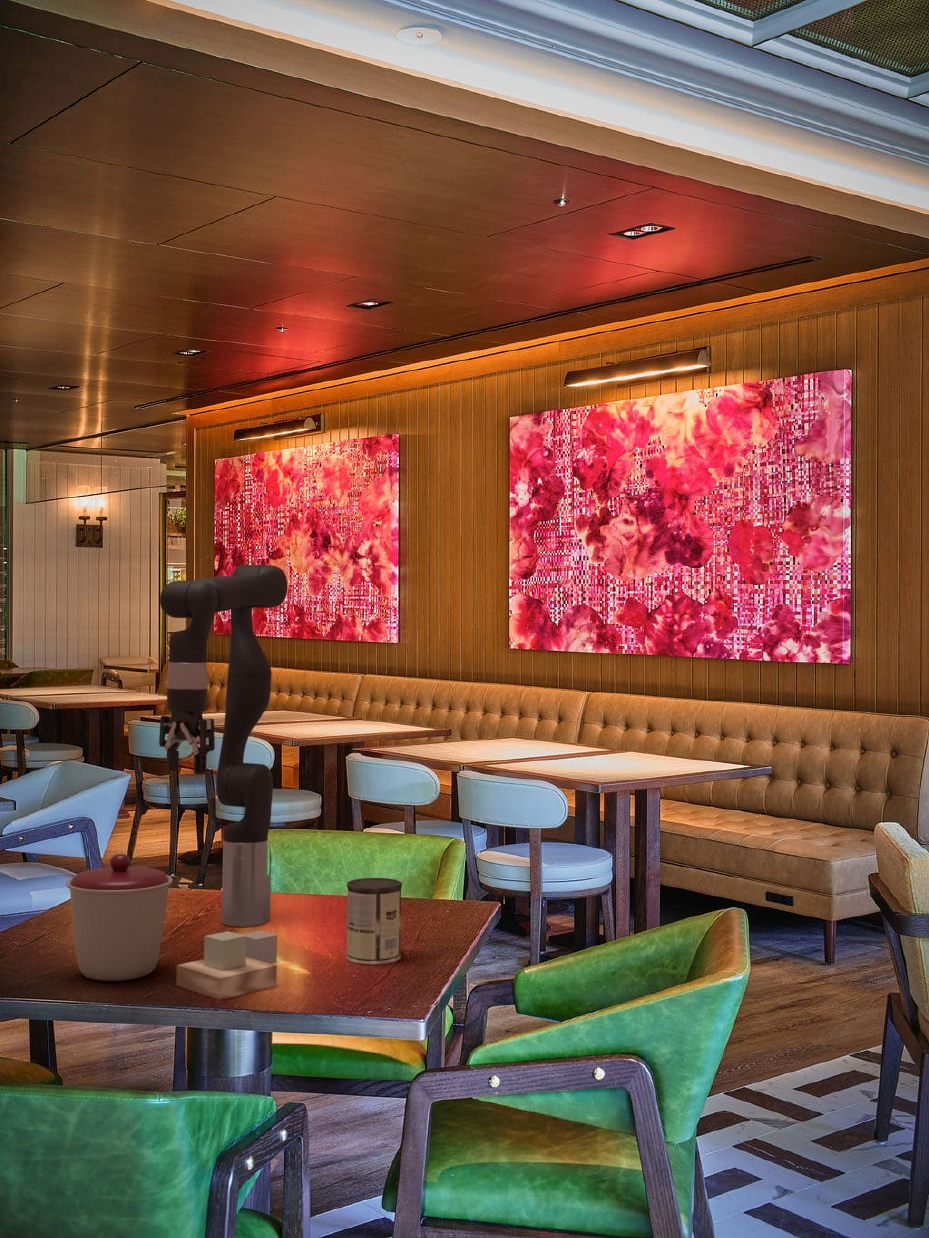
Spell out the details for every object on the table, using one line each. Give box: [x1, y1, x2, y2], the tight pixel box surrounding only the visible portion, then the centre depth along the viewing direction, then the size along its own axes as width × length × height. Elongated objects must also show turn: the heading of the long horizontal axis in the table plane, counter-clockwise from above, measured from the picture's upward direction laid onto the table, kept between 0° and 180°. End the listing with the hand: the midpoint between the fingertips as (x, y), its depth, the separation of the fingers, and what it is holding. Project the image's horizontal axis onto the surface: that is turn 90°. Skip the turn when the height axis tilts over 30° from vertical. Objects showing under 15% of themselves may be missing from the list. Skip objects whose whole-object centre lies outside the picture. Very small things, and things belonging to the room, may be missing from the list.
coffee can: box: [346, 877, 403, 966], centre depth 235 cm, size 10×10×14 cm
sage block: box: [203, 930, 246, 971], centre depth 215 cm, size 5×5×5 cm
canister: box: [65, 853, 173, 982], centre depth 221 cm, size 18×18×21 cm
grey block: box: [239, 930, 278, 964], centre depth 231 cm, size 5×5×5 cm
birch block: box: [175, 957, 278, 1001], centre depth 215 cm, size 12×12×4 cm
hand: (185, 772), depth 238 cm, fingers open, 8 cm apart
